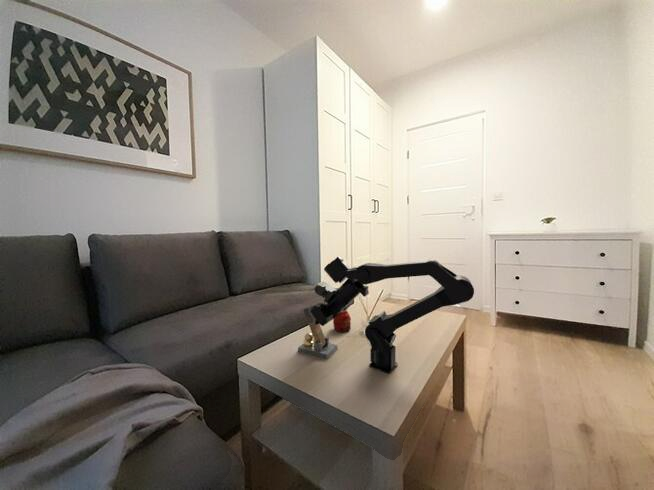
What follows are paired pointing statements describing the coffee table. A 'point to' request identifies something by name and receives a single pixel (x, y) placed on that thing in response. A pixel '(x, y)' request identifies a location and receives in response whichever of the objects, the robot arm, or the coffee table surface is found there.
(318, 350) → the base
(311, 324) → the lever
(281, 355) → the coffee table surface
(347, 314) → the decorative doll
